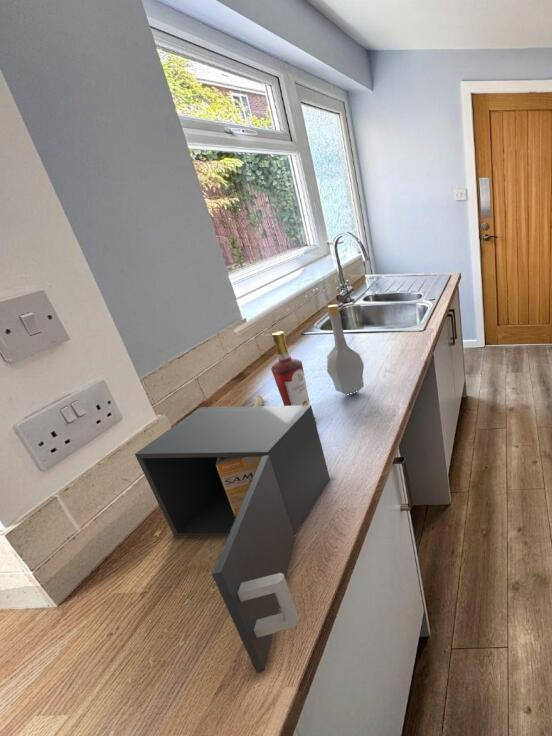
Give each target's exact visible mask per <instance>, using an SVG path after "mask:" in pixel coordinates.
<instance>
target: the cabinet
mask: <svg viewBox="0 0 552 736" xmlns="http://www.w3.org/2000/svg"><path fill="white" fill-rule="evenodd" d="M314 417H315V414H314V411H313V408H312V405H311V404H310V405H306V406H284V405H262V406H253V405H250V406H248V405H247V406H201V407H198V408H197V409H196V410H195V411H193V412H191V413H190V414H188V415H187V416H186V417H185V418H183V419H182V420H180V421H179V422H177V423H176V424H175V425H173V426H172V427H170V428H169V429H167V430H165V432H163V433H162V434H160V435H159V436H157V438H155V439H153V440H152V441H151V442H149V443H148V444H146V445H145V446H144V447H142V448H141V449H140V450H138V451H136V452H135V453H134V457H135V458H136V460H137V462H138V464H139V466H140V468H141V471H142V472H143V475H144V477H145V479H146V481H147V483H148V485H149V487H150V489H151V492H152V493H153V495H154V497H155V499H156V502H157V504H158V506H159V508H160V510H161V512H162V514H163V516H164V518H165V520H166V523H167V525H168V526H169V528H170V531H171V533H172V535H173V537H176V538H177V537H228V536H229V533H230V531H231V529H232V526H233V524H234V522H235V519H236V517H237V516H234V513H233V510H232V508H231V505H230V502H229V500H228V497H227V494H226V491H225V489H224V486H223V483H222V481H221V478H220V475H219V473H218V470H217V467H216V462H217V457H262V456H266V455H269V457H270V461H271V464H272V467H273V470H274V473H275V476H276V479H277V482H278V485H279V488H280V492H281V495H282V498H283V501H284V504H285V507H286V510H287V513H288V516H289V519H290V522H291V526H292V529H293V532H294V535H295V536H296V534H297V533H298V531H299V530H300V529H301V526H302V525H303V523H304V522H305V520H306V519H307V517H308V516H309V514H310V513H311V511H312V509H313V507H314V506H315V504H316V503H317V501H318V500H319V498H320V496H321V495H322V494H323V492H324V490H325V489H326V487H327V486H328V484H329V482H330V481H331V477H330V473H329V469H328V465H327V462H326V461H327V460H326V457H325V453H324V449H323V445H322V442H321V438H320V434H319V431H318V426H317V423H316V417H315V418H314Z"/></svg>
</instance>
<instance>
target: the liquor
mask: <svg viewBox="0 0 552 736" xmlns="http://www.w3.org/2000/svg"><path fill="white" fill-rule="evenodd" d="M271 336H272V339H273V342H274V344H275V347H276V352H277V353H276V354H277V359H278V361H276V362H274V364H273V365H272V366H271V369H270V370H271V373H272V375H273V378H274V381H275V384H276V387H277V390H278V393H279V395H280V397H281V400H282V403H283V406H306V405H311V403H310V397H309V393H308V387H307V381H306V377H305V372H304V371H305V370H304V366H303V362H302V360H300V359H297V358H292V357H291V354H290V351H289V349H288V346H287V344H286V336H285V332H284V331H275V332H273V333H272V334H271ZM314 418H315V419H316V417H315V416H314Z"/></svg>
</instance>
